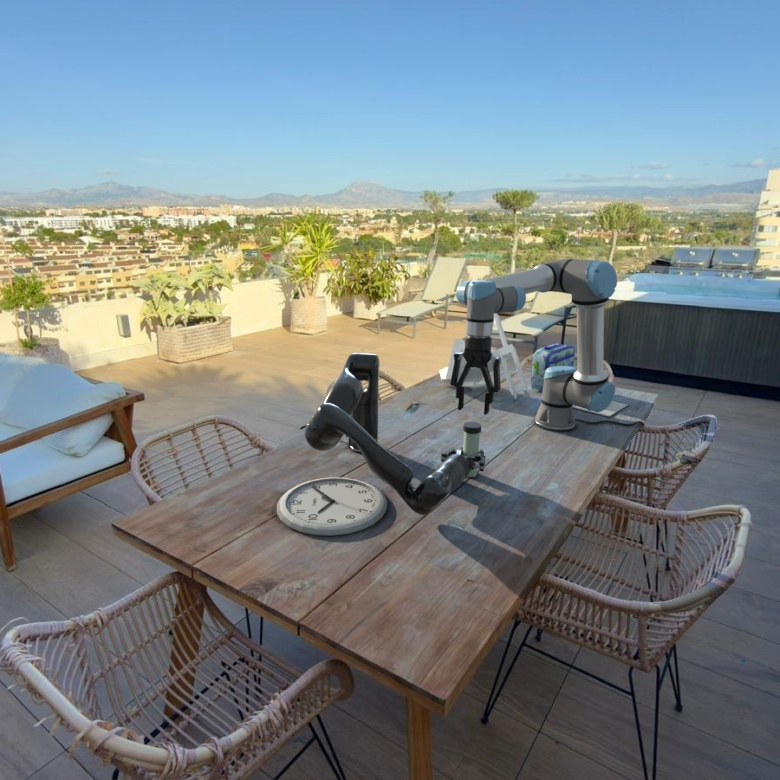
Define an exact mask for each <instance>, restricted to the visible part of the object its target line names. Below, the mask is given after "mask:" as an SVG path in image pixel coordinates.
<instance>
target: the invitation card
mask: <svg viewBox="0 0 780 780" xmlns="http://www.w3.org/2000/svg"><path fill="white" fill-rule="evenodd" d="M628 406H629V404H627V403H623V402H618V401H614V400H612V402H611V403H610V405H609V406H608V407H607V408H606V409H605V410H603V411H601V412H595V411H589V410H587V409H585V408H582V407H579V406H574V407H573V409H575V410H581V411H584V412H587V413H593V414H596V415H600V416H604V417H608V418H609V417H611V416H613V415H614V414H616V413H617V412H619V411H621V410H623V409H624V408H626V407H628Z"/></svg>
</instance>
